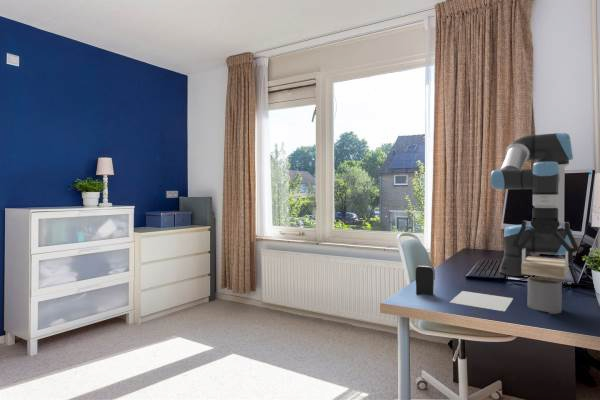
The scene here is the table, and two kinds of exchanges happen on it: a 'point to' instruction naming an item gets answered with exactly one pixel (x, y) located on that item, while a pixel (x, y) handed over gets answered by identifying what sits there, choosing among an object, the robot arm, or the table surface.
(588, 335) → the table surface
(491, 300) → the grey mat
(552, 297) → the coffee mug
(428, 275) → the battery
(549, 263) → the board
